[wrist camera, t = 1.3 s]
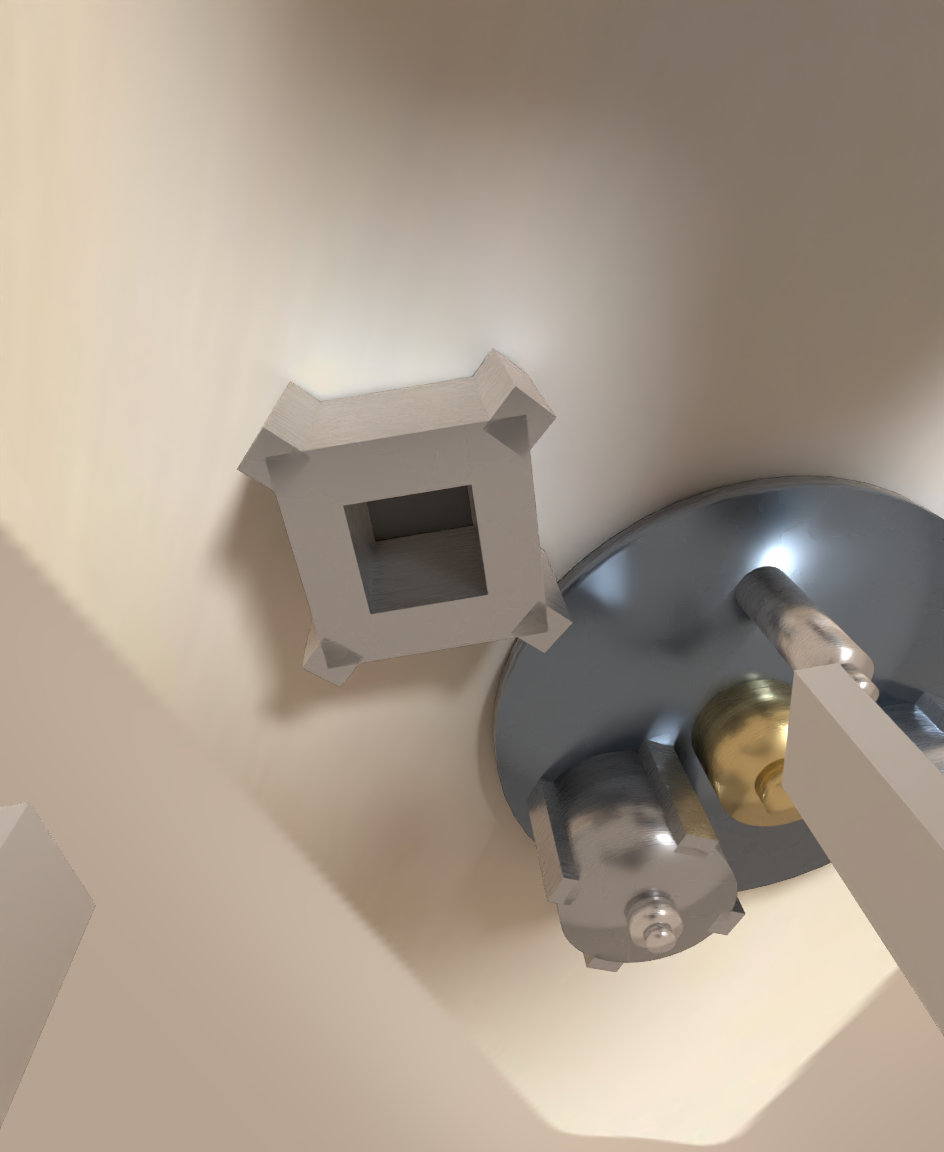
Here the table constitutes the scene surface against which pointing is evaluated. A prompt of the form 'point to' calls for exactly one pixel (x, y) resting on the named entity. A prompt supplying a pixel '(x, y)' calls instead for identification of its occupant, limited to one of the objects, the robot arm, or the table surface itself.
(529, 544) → the grey square frame
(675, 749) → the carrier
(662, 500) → the table surface
